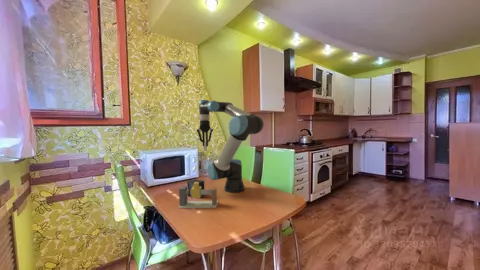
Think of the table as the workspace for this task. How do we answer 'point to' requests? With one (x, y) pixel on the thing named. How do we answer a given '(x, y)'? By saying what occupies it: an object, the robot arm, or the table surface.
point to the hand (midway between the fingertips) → (205, 150)
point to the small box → (191, 184)
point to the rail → (197, 204)
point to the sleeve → (195, 190)
